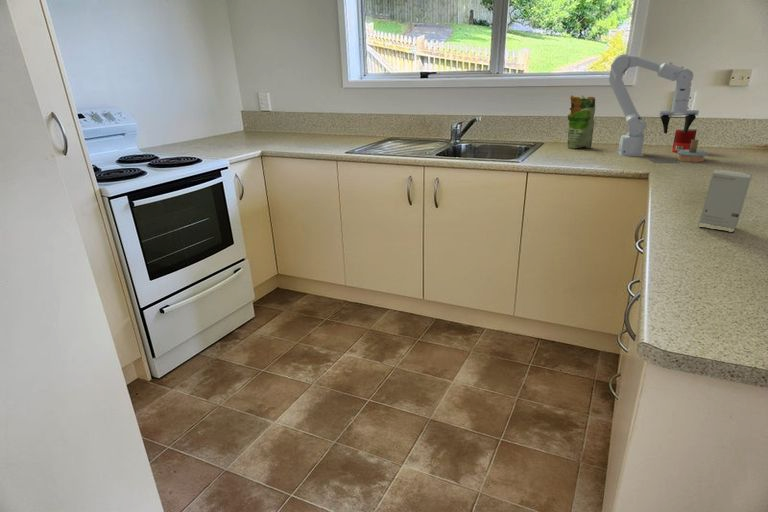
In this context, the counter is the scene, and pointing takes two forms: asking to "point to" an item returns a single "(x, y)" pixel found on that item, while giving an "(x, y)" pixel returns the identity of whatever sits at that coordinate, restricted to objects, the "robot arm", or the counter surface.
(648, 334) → the counter surface
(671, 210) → the counter surface
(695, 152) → the lid
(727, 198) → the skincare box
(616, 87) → the robot arm
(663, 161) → the mat
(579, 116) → the pouch
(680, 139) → the canned food
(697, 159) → the bowl
